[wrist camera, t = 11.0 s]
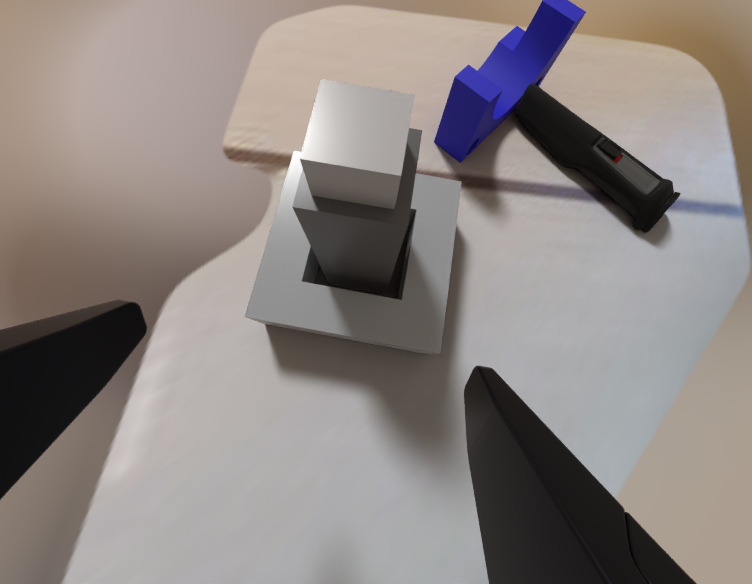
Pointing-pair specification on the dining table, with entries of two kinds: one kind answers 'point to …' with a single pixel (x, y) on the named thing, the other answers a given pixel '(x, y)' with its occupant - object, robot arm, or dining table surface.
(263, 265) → the socket
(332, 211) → the plug
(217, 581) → the dining table surface
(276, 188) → the dining table surface
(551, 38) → the cable clip
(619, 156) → the electric trimmer
